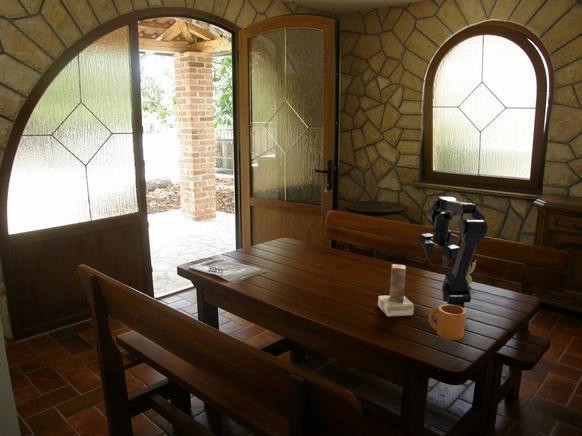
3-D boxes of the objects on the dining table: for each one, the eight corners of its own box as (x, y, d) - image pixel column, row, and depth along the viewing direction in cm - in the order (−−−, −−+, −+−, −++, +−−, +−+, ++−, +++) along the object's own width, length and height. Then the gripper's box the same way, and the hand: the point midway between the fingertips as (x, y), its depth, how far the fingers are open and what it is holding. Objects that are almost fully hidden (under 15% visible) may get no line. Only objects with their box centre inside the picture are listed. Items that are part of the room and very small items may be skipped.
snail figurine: (474, 288, 205) (477, 261, 203) (458, 286, 207) (461, 260, 204) (472, 284, 211) (475, 258, 208) (457, 282, 212) (460, 256, 209)
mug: (436, 323, 170) (439, 299, 168) (468, 334, 161) (471, 309, 159) (422, 330, 164) (425, 305, 162) (455, 342, 155) (457, 317, 153)
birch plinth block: (413, 315, 176) (414, 304, 175) (387, 316, 174) (388, 305, 173) (402, 304, 186) (403, 294, 185) (377, 305, 184) (378, 295, 183)
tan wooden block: (402, 298, 181) (405, 264, 178) (403, 303, 176) (406, 269, 173) (389, 296, 182) (391, 263, 179) (389, 301, 177) (392, 267, 174)
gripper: (474, 232, 183) (468, 269, 188) (441, 218, 199) (436, 253, 204) (452, 236, 178) (447, 274, 183) (420, 221, 194) (415, 256, 199)
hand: (436, 263), depth 192 cm, fingers open, 9 cm apart
